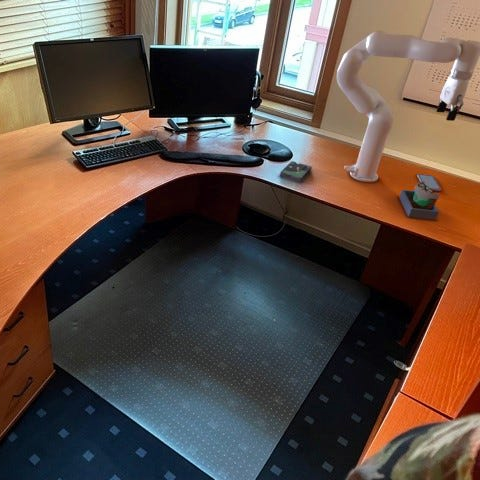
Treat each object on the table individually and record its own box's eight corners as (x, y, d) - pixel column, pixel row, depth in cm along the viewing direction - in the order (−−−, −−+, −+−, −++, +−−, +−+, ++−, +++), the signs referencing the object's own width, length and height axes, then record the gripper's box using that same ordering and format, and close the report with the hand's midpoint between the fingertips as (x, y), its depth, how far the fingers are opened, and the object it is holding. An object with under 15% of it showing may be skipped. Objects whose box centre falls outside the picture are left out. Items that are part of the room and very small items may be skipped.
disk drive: (290, 166, 229) (279, 177, 219) (291, 160, 228) (280, 171, 217) (310, 171, 225) (300, 183, 214) (312, 166, 223) (302, 177, 213)
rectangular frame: (408, 217, 193) (411, 208, 191) (399, 197, 206) (402, 189, 204) (435, 220, 192) (439, 211, 189) (424, 200, 205) (427, 192, 203)
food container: (402, 201, 204) (410, 180, 198) (415, 201, 204) (423, 180, 199) (417, 216, 194) (426, 195, 188) (431, 216, 194) (440, 194, 189)
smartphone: (433, 175, 224) (441, 189, 211) (432, 177, 224) (440, 191, 212) (416, 173, 225) (424, 187, 212) (416, 175, 225) (423, 189, 213)
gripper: (442, 68, 194) (427, 108, 204) (461, 80, 180) (444, 123, 190) (460, 69, 194) (445, 109, 203) (481, 81, 179) (463, 124, 189)
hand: (445, 116), depth 196 cm, fingers open, 9 cm apart
